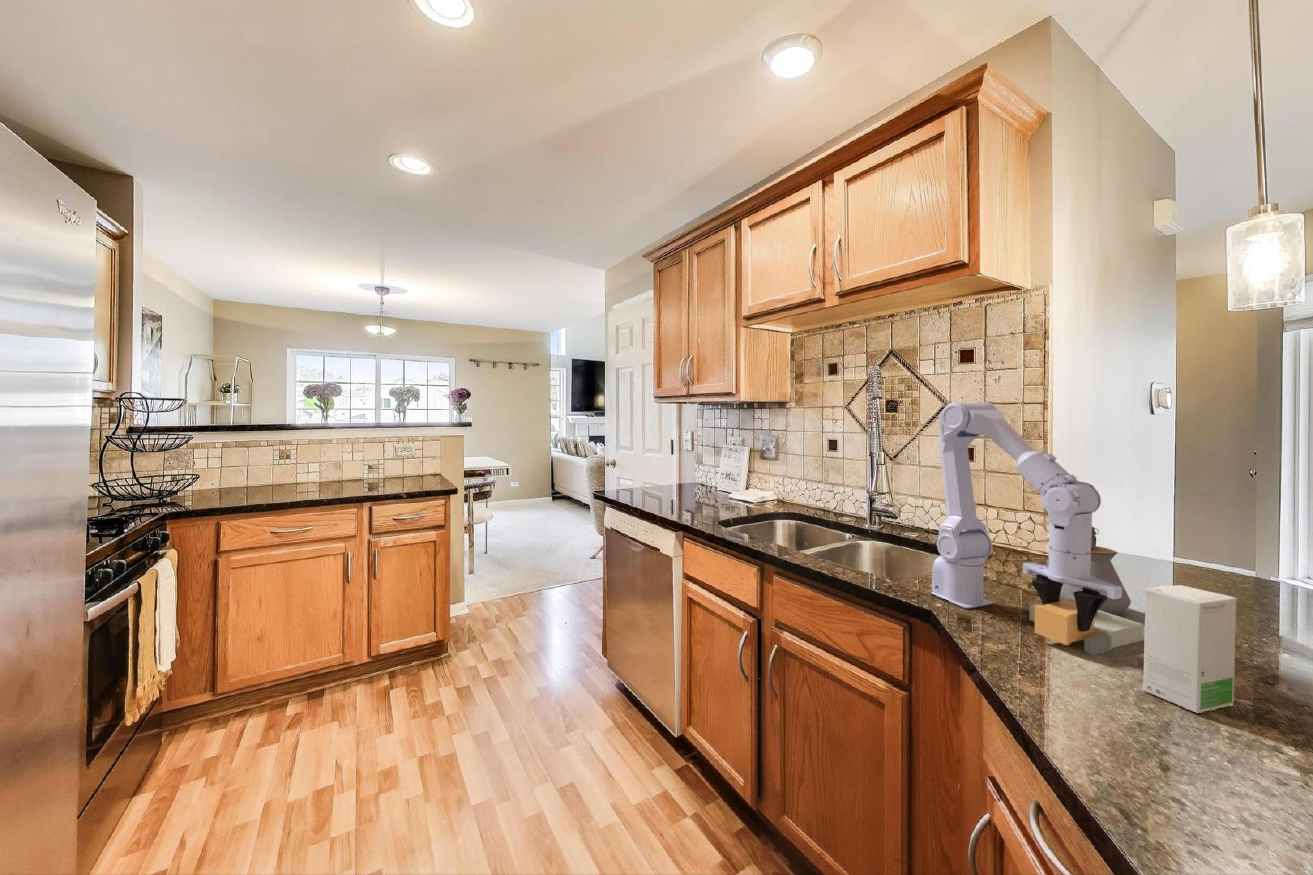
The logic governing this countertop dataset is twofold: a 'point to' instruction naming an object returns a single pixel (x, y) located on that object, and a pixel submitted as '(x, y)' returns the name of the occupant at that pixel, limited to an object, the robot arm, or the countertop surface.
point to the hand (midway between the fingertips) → (1067, 624)
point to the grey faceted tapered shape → (1103, 577)
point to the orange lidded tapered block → (1060, 622)
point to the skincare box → (1189, 647)
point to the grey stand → (1105, 630)
